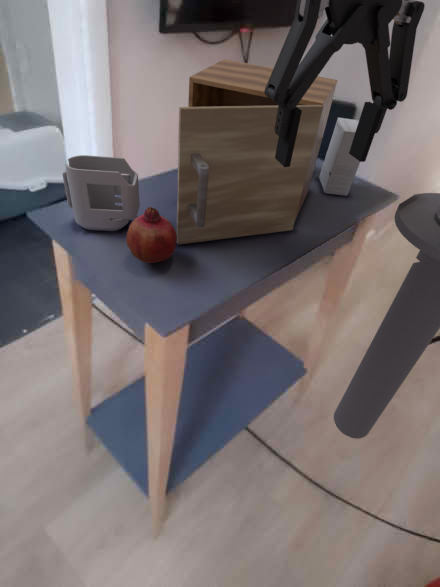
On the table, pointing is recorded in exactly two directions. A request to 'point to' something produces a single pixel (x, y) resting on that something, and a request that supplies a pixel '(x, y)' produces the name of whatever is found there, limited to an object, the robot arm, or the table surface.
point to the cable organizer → (101, 191)
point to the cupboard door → (238, 171)
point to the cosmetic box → (340, 159)
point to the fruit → (151, 237)
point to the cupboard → (256, 96)
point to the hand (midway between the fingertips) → (320, 159)
